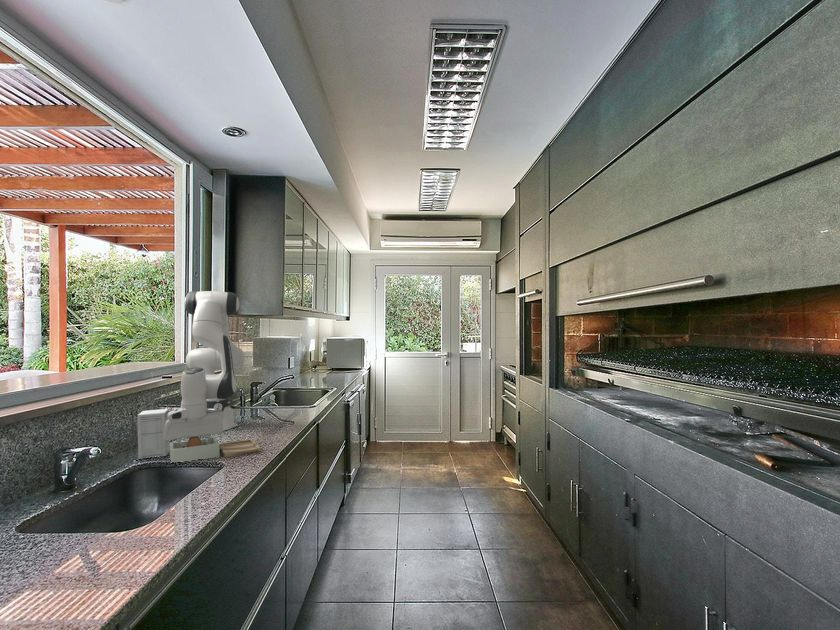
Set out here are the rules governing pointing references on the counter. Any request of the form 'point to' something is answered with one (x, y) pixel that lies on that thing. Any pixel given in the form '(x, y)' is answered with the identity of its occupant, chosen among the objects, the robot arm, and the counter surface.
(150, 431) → the supplement box
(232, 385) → the robot arm
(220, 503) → the counter surface
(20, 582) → the counter surface
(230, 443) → the tray
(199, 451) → the bin
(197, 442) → the egg
